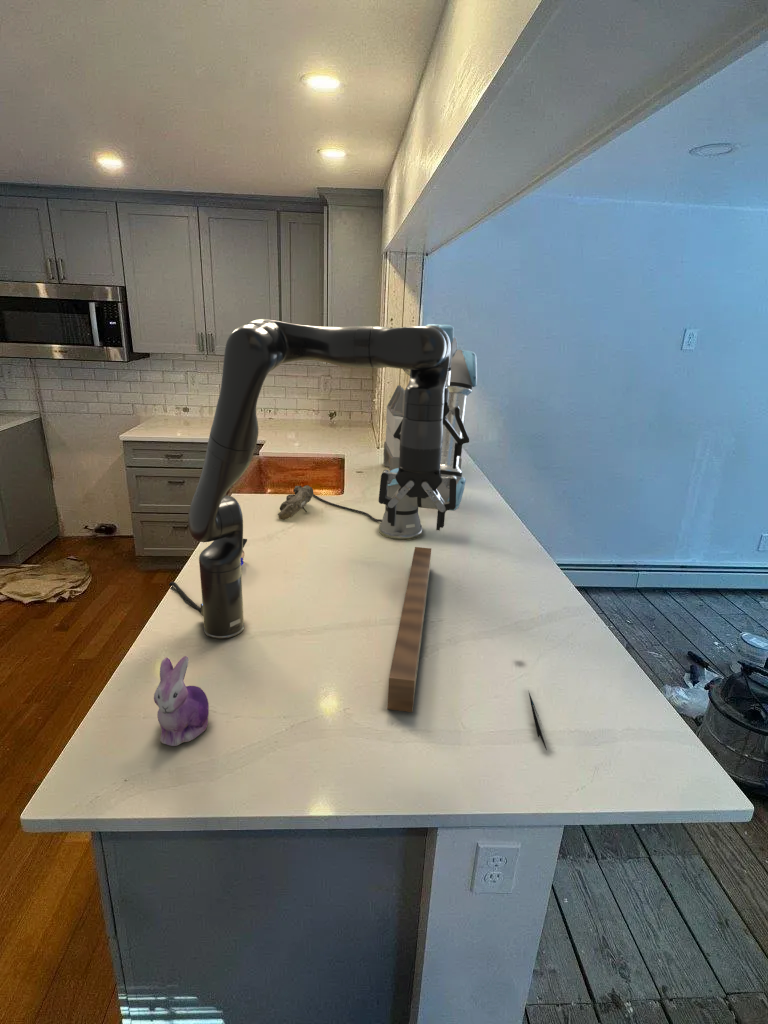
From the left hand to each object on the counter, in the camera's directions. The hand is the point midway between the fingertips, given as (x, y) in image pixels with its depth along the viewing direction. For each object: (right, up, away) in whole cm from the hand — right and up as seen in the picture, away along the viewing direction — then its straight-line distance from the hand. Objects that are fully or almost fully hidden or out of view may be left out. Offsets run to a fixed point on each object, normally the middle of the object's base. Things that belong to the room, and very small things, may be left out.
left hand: (415, 527), depth 107 cm
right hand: (+6, +15, +48) cm, 51 cm away
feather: (+24, -36, +9) cm, 45 cm away
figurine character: (-51, -14, +61) cm, 80 cm away
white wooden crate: (+11, +22, +168) cm, 170 cm away
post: (+1, -26, +36) cm, 44 cm away
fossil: (-39, +3, +109) cm, 116 cm away
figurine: (-43, -37, -2) cm, 57 cm away
